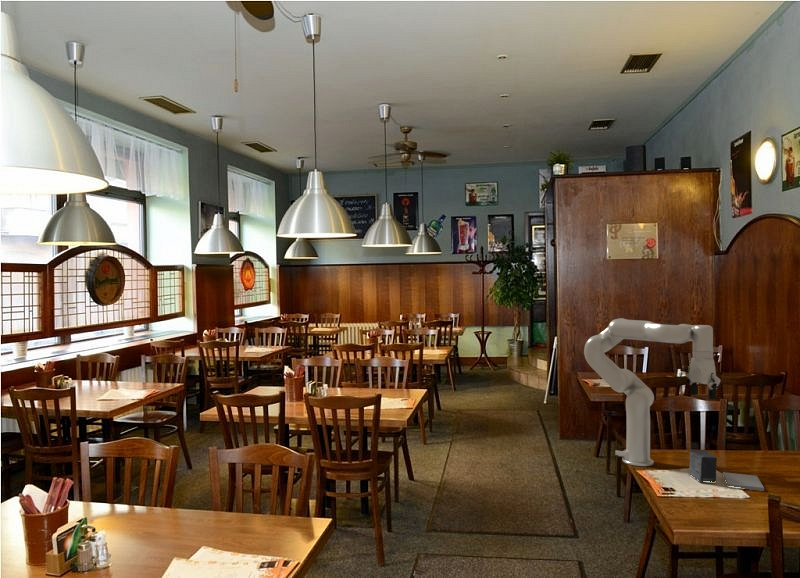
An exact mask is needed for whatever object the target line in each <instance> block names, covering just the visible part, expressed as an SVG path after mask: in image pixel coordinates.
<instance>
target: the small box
mask: <svg viewBox="0 0 800 578" xmlns="http://www.w3.org/2000/svg"><path fill="white" fill-rule="evenodd" d="M717 460H718V458H717V456H715V455H713V454H712V453H710V452H708V451H706V450H705V449H689V469H688V475H689V474H690V475H692V476H693V477H695V478H696V479H698V480H699V481H700V482H703V481H710V482H711V481H712V482H715V481H716V482H717ZM690 475H689V476H690ZM693 477H692V478H693ZM696 479H695V480H696ZM699 481H698V482H699ZM700 482H699V483H700Z"/></svg>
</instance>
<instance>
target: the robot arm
mask: <svg viewBox="0 0 800 578" xmlns="http://www.w3.org/2000/svg"><path fill="white" fill-rule="evenodd" d="M623 340H634V341H635V340H637V341H646V342H658V343H667V344H685V343H687V342H692V352H691V354H692V357H691V358H690V359H691V360H690V363H689V364H690V365H689V372H688V373H686V377H687V380H688V382H689V386H690V395H691V396H697V395H699V385H698V384H700V385H701V384H702V385H707V386H708V393H707V394H708V397H707V398H708V400H716V399H717V389H718V387H719V386H720V384H721V379H720V378H719V377H718V376H717V372H716V366H715V359H714V329H713V326H711V325H708V324H695V325H694V324H693V325H692V324H687V323H680V324H678V325H677V324H662V323H656V322H653V321H650V320H640V319H638V320H637V319H626V318H623V317H621V318H615V319H613V320H611V321H610V322H609V324H608V326H607V327H606V328H605V329H604V330H603V331H601V332H600V333H598V334H596V335H592V336H590V337H589V338H588V340H586V342H585V345H584V349H583V354H584V358H585V360H586V362H587V364H588V365H589V367H591V369H592V370H593V371H595V373H596V374H598V376H599V377H600V378H601V379H603V381H604V382H605V383H606V384H607V385H608V386H609V387H610V388H611V389H612V390H613V391H615V392H617V393H619V394H620V393H624V394H625V395H626V399H625V411H626V414H625V415H626V441H625V443H626V444H625V447H626V449H624V450H622V451H621V450H617V449H616V450H615V453H614V455H615V456H617V457H622V462H623V463H624V464H627V465H630V466H637V467H651V466H653V465H654V460H653V459H652V458H651V454H650V453H651V413H650V411H651V406H652V405H653V403H654V400H655V395H654V393H653V391H652V389H651V388H650V387H649V386H648V385H646V383H644V382H643V381H642V380H641V379H640V377H638V375H636V374H635V373H634V372H632V371H631V370H630V369H627V368H620V367H619V366H618V365H617V364H616V363H615V362H614V361H613V360H612V359H611V358H609V357H608V356H607V355H606V354H605V353H607V352H609V351H610V350H612V349H613V348H614V347H615V346H616V345H618V344H619V343H621V342H622V341H623Z"/></svg>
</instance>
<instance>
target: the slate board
mask: <svg viewBox="0 0 800 578" xmlns="http://www.w3.org/2000/svg"><path fill="white" fill-rule="evenodd" d="M723 475H724V477H723V479H724V478H725V480H726V482H727V484H726V486H727V485H728V486H734V487H741V488H745V489H749V490H748V491H752V490H760V491H759V492H761V491H764V492H765V487H764V485H763V484H762V482H761V480H760V478H759V477H758V476H757V475H753V474H744V473H743V474H742V473H734V472H733V473H732V472H726V471H723V472H722V476H723ZM725 480H724V481H725ZM726 482H725V483H726Z"/></svg>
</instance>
